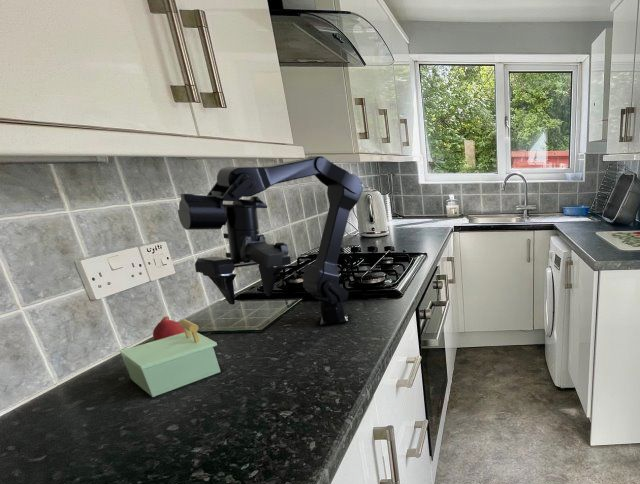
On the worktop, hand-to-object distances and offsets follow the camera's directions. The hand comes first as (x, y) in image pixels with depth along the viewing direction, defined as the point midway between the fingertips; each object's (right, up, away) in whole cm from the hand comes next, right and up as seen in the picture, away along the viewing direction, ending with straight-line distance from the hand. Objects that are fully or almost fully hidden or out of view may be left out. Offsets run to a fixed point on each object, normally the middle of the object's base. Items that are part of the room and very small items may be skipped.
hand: (251, 300), depth 92 cm
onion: (-19, -11, +3) cm, 23 cm away
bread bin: (-9, -16, -9) cm, 20 cm away
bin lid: (-9, -10, -11) cm, 18 cm away
